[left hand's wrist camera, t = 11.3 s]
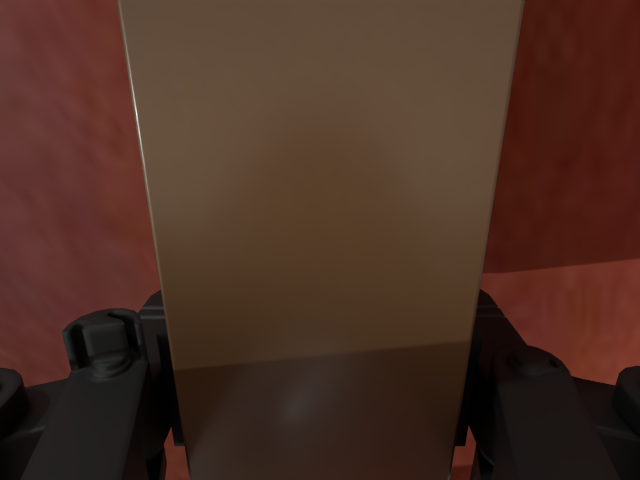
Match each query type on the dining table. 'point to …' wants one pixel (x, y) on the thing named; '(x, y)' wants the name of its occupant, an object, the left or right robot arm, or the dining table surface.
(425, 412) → the bar
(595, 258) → the dining table surface
